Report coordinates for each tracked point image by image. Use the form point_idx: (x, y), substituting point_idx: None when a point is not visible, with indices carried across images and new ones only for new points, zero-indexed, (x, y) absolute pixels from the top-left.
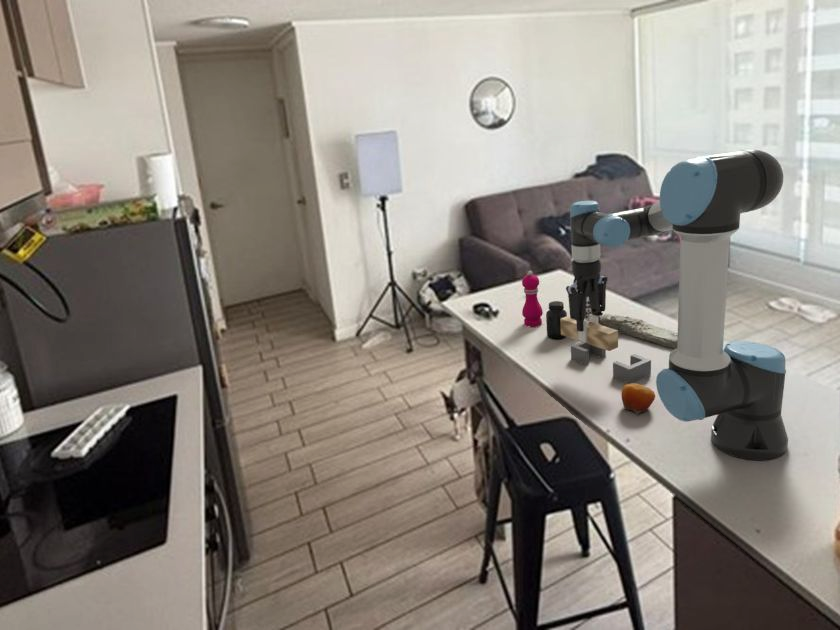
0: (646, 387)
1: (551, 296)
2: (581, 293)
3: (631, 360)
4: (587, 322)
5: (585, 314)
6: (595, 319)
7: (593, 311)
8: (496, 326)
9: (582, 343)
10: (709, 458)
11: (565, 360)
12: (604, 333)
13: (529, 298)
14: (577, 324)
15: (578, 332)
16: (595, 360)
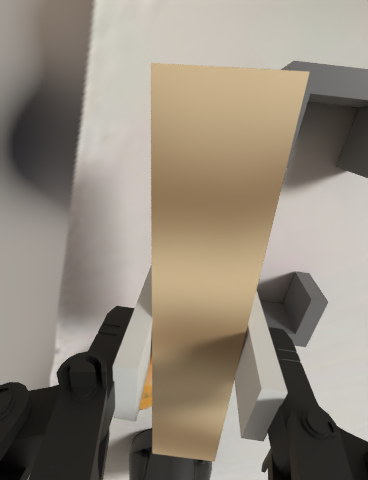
0: (142, 408)
1: None
2: None
3: (303, 292)
4: (225, 328)
5: None
6: (240, 402)
7: (288, 448)
8: None
9: (349, 91)
10: (111, 435)
11: (253, 61)
12: (153, 433)
13: None
14: (93, 349)
15: (145, 281)
16: (308, 158)
